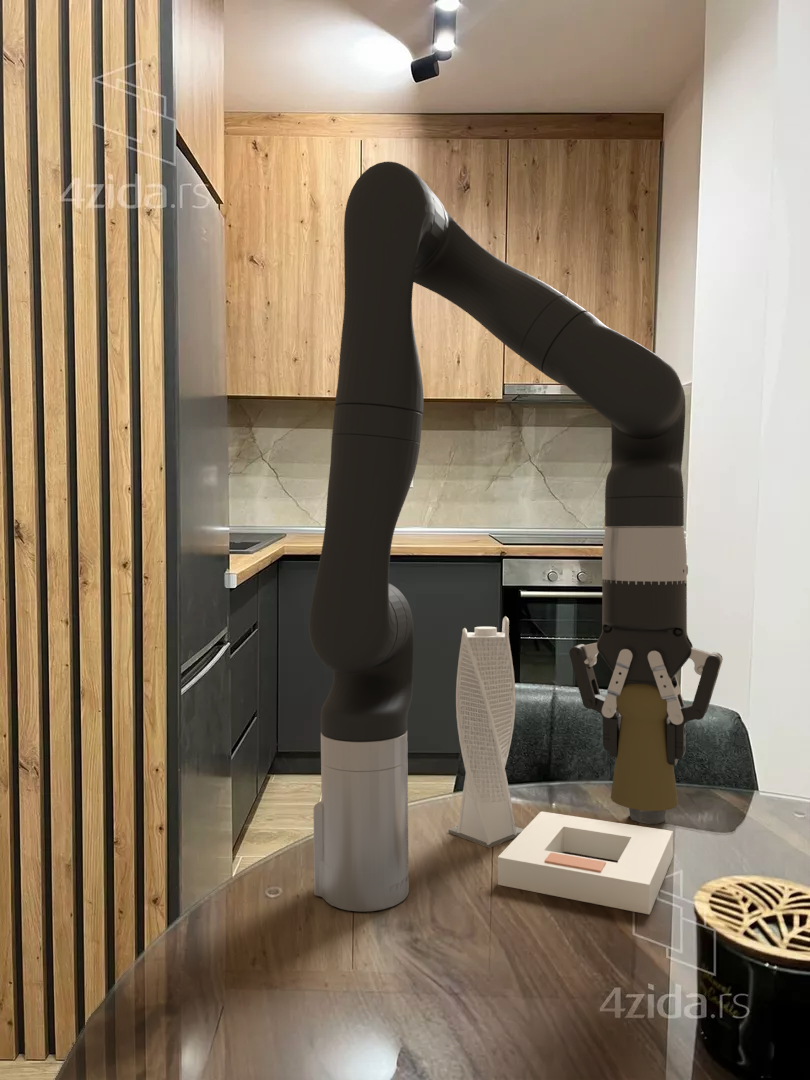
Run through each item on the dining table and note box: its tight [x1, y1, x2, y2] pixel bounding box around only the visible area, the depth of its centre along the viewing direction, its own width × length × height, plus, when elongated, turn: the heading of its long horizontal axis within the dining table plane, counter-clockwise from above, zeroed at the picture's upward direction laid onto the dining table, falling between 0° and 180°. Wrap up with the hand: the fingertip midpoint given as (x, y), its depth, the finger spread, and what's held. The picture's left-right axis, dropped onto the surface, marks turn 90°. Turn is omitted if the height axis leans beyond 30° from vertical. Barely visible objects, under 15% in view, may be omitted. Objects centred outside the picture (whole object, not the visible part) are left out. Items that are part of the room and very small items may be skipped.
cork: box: [610, 684, 679, 811], centre depth 74 cm, size 6×6×11 cm
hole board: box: [497, 811, 674, 916], centre depth 90 cm, size 16×16×3 cm
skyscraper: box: [448, 615, 525, 849], centre depth 101 cm, size 8×8×28 cm
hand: (644, 758), depth 74 cm, fingers closed on cork, 4 cm apart
